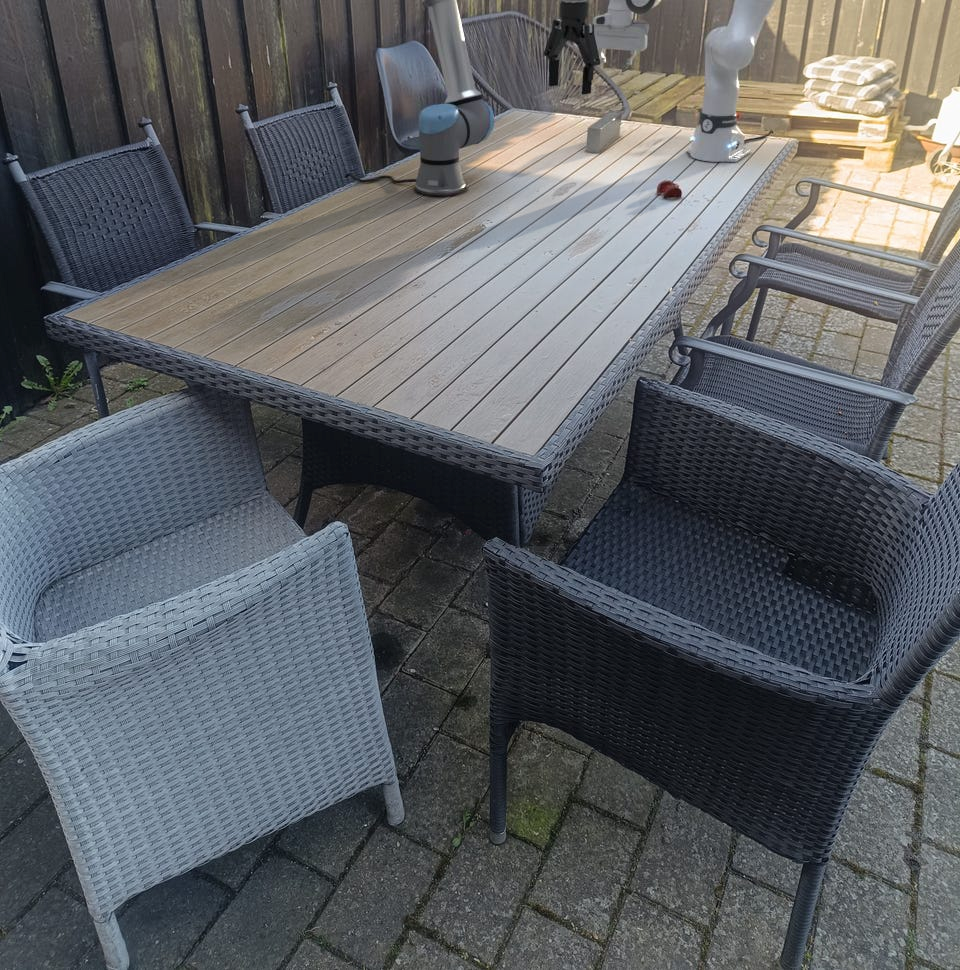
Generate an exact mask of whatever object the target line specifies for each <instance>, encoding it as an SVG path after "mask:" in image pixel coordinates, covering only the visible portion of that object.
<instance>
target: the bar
mask: <svg viewBox="0 0 960 970" xmlns="http://www.w3.org/2000/svg"><path fill="white" fill-rule="evenodd" d="M621 124H622V113H620V112H608V113H607V114H605V115H604V116H602V117H600V119H598V120H597V121H595V122H593V123H592V124H591V125H590V126H588V127H587V131H586V132H587V133H586V147H585V152H586V153H595V154H600V153H601V152H602V151H603V150H604V149H606V148H607V147H608V146H609V145H611V144H612V143H613V142H614V141H616V140H617V139H618V138H620V135H621Z"/></svg>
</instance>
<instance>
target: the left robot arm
mask: <svg viewBox="0 0 960 970" xmlns="http://www.w3.org/2000/svg"><path fill="white" fill-rule="evenodd" d="M420 2H421V4H422V5H424V6H425V7H427V9H428V15H429V18H430V23H431V28H432V32H433V36H434V41H435V45H436V50H437V54H438V59H439V62H440V66H441V67H440V68H441V71H442V76H443V81H444V85H445V90H446V93H447V94H446V95H447V97H446V98H445V101H444V103H439V104H431V105H428V106H426V107H424V108H423V109H422V110H421V111H420V112H419V114H418V115H419V116H418V126H417V127H418V137H419V138H418V139H419V157H420V158H419V159H420V161H419V162H420V164H419V168H418V172H417V176H416V178H408V179H407V178H406V179H395V178H394V177H393V176H392V175H386V174H385V175H378V176H374V177H371V178H366V179H365V178H363V179H362V178H358V177H357V176H356V175H355V174H354V173H352V172H347V173H346V174H345V175H344V178H345V179H346V178H348V177H351V178H352V179H353V180H354V181H356V182H359V183H372V182H375V181H378V180H382V179H389V180H390V181H391V182H392V183H393V184H405V183H414V184H415V185H414V186H415V192H417V193H418V194H420V195H424V196H430V197H450V196H455V195H459V194H461V193H463V192H464V191H466V181H465V179H464V176H463V172H462V169H461V165H460V149H463V148H467V147H470V146H474V145H475V146H476V145H479V144H480V143H482V142H485V141H486V140H487V139H489V137H490V136H491V134H492V133H493V131H494V128H495V114H494V111H493V109H492V107H491V105H489V103H488V102H486V101H484V99H483V95H482V92H480V91H479V90H478V89H477V88H476V85H475V81H474V76H473V70H472V66H471V62H470V57H469V53H468V47H467V42H466V39H465V34H464V29H463V24H462V20H461V15H460V11H459V6H458V0H420ZM589 4H590V3H589V1H587V0H561V1H560V2H559V16H558V17H559V18H556V19H553V20H552V26H551V27H552V28H551V30H550V33H549V36H548V40H547V42H546V45H545V48H544V51H543V56H544V57H547V60H548V87H555V86H559V74H560V59H559V55H560V54H561V52H562V50H563V49H564V47H565V45H566V44H567V42H569V41H570V42H572V43H574V44H575V45H576V46H577V48H578V50H579V51H578V52H579V53H580V56H581V58H582V60H583V63H584V66H583V67H582V81H581V95H589V94H592V85H593V84H592V83H593V80H594V74H595V67H597V66H600V65H601V57H600V55H599V52H598V49H599V48H597V44H596V40H595V35H594V25H595V24H594V23H591V24H588V23H587V24H586V19H588V17H589V10H590V9H589V8H590V5H589Z"/></svg>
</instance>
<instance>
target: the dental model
mask: <svg viewBox="0 0 960 970" xmlns="http://www.w3.org/2000/svg"><path fill="white" fill-rule="evenodd" d="M656 194H663V195H662V198H663V200H666V199H678V198H682V196H683V191H682V189H681V187H680V185H679V184H677V183H675V182H673V181H672V180H662V181H661V182H660V183H658V185H657V187H656Z"/></svg>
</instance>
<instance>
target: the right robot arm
mask: <svg viewBox="0 0 960 970" xmlns="http://www.w3.org/2000/svg"><path fill="white" fill-rule="evenodd" d="M776 1H777V0H734V2H733V8H732V12H731V15H730V18H729V21H728V23H727V25H724V26H723V25H722V26H718V27H715V28H714V29H712V30H711V31H709V32H708V34H707V36H706V37H705V39H704V44H703V48H704V49H703V50H704V92H703V100H702V106H701V110H700V112H699V116H698V126H696V127H695V128H694V133H693V136H691V137H690V141H692V142H691V146H690V148H688V149H687V153H688V154H689V155H690V157H691V158H692V159H696V160H697V161H698V160H699V161H702V162H703V161H704V162H711V163H712V162H713V163H714V162H715V163H725V162H728V163H730V162H731V163H736V162H738V161H740V160H741V159H743V158H744V157H745V156H748V154H750V149H748V148H747V147H745V146H744V144H745V143H746V142H750V141H756V140H760V139H761V140H762V139H764V138H767V137H769V136H770V135H771V134H774V130H773V129H771V130H770V131H769V132H768V133H767V134H763V135H761V136H757V137H750V138H745V134H744V133H743V132H742V131H741V129H740V128H739V126H738V120H741V118H742V114H743V113H742V112H738V111H737V106H738V100H739V93H740V82H739V71H741V70H744V69H745V68H747V66H749V65H750V64H751V61H752V60H753V58H754V55H755V47H756V44H757V41H758V39H759V36H760V33H761V31H762V28H763V25H764V23H765V20H766V19H767V17H768V15H769V13H770V12H771V10H772V8H773V6H774V4H775V2H776ZM661 2H662V0H609V3H608V6H607V12H605V13H602V14H600V15H597V16H595V17H594V18H593V21H592V24H594V35H595V40H596V44H597V49H598V53H599V58H600V64H605V63H607V56H605V55H604V51H605V50H618V51H630V55H631V56H630V57H629V58H627V59H626V66H632V65H633V60H634V58H635V56H636V54H637V52H644V51H645V50H646V49H647V48H648V34H649V32H650V24H649V22H647V21H646V20H644V19H634V14H636V15H643V14H646V13H647V12H649V11H650V10H652V9H653V8H655V7H657V6H658V5H659V4H660V3H661Z"/></svg>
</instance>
